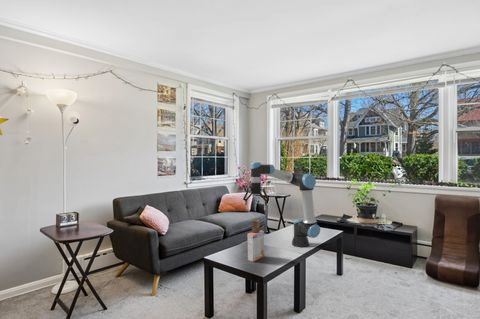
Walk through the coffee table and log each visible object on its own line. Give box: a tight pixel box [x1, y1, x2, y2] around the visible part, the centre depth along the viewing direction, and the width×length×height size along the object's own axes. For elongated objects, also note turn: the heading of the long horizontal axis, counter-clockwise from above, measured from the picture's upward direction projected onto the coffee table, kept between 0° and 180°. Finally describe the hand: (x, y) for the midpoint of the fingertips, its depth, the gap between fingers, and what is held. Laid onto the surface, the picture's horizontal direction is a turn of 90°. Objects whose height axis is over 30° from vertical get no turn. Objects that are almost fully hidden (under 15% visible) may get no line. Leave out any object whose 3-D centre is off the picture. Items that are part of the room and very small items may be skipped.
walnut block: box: [251, 219, 261, 233], centre depth 227 cm, size 5×5×9 cm
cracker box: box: [247, 230, 265, 263], centre depth 227 cm, size 14×6×21 cm, turn 138°
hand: (256, 209), depth 227 cm, fingers open, 13 cm apart
